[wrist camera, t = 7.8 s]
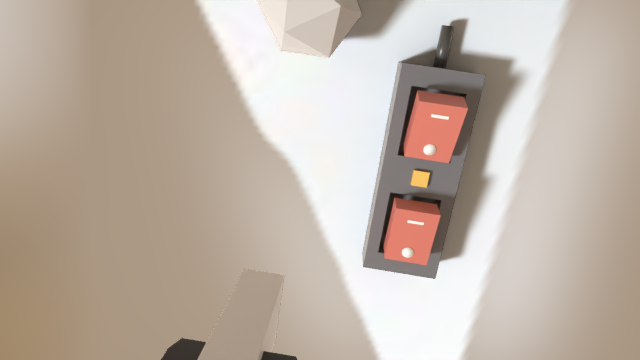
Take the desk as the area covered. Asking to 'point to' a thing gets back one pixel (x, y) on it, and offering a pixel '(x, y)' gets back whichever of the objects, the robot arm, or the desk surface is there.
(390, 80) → the desk surface
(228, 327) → the robot arm
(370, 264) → the power strip
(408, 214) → the rocker
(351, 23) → the die
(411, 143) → the rocker
